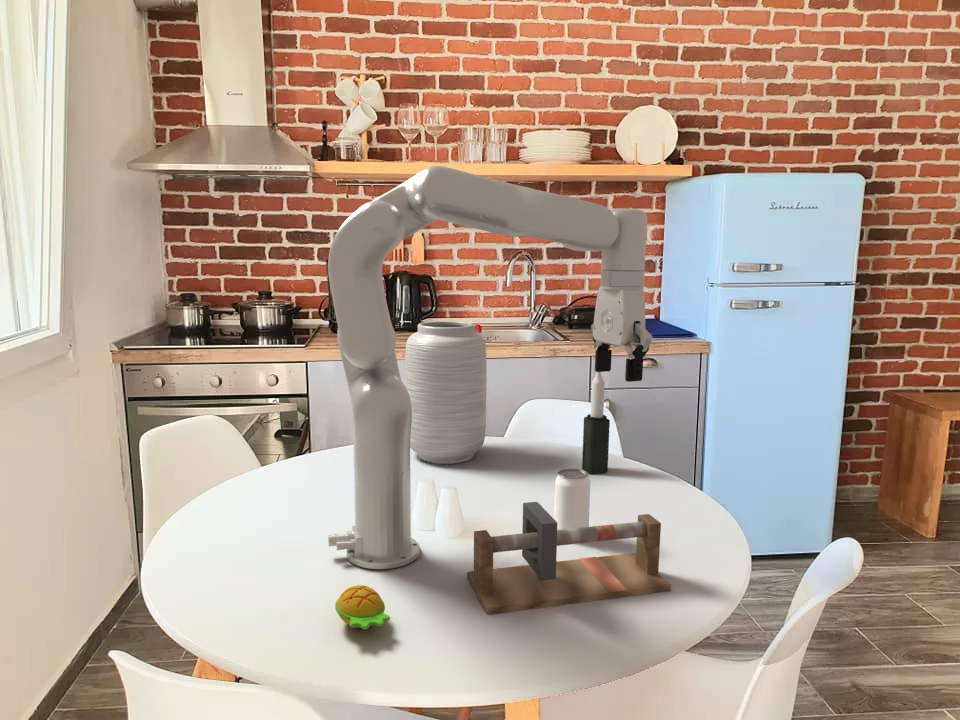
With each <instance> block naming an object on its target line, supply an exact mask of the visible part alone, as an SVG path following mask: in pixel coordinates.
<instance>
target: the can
mask: <svg viewBox="0 0 960 720" xmlns="http://www.w3.org/2000/svg"><path fill="white" fill-rule="evenodd" d="M590 500H591V481H590V478H589V474H588V473H587V472H586V471H585V470H582V469H579V468H564V469H563V468H562V469H560V470H558V472H557V476H556V478H555V482H554V500H553V501H554V502H553V503H554V505H553V506H554V507H553V508H554V509H553V514H554V515H553V519H554V520H555V521H556V522H557V530H562V529H572V528H582V527H590V526H589V525H590V508H591V507H590V505H591V504H590V503H591V502H590Z"/></svg>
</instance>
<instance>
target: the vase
mask: <svg viewBox="0 0 960 720" xmlns="http://www.w3.org/2000/svg"><path fill="white" fill-rule="evenodd" d="M404 370H405V372H404V374H405V379H404V380H405V381H404V386H405V387H406V389H407V391H408V393H409V396H410V399H411V405H412V424H411V437H410V450H412V451H413V452H414V453H415V454H417V457H418V458H419V459H420V460H421V459H422V460H421V461H423V460H424V462H426V461H427V463H430V462H431V463H432V464H440V465H441V464H442V465H449V464H450V465H452V464H459V463H464V462H467V461H469V460H471V459H472V458H473V457H474V455H475V454H476V453H477V452H478V451H480V449H481V448H482V447H483V445H484V441H485V438H486V428H487V427H486V426H487V425H486V423H487V345H486V341H485V339H484V337H483V336H482V335H481V334H480V333H477V332H475V325H474V324H473V323H471V322H467V321H456V320H455V321H454V320H453V321H452V320H451V321H450V320H433V321H424V322H419V323H418V324H417V331H416V332H414V333H412V334H411V335H410V336H409V337H408V338H407V340H406V345H405V363H404Z"/></svg>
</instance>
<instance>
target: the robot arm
mask: <svg viewBox="0 0 960 720" xmlns="http://www.w3.org/2000/svg"><path fill="white" fill-rule="evenodd" d="M436 220H438V221H443V222H446V223H452V224H455V225H459V226H462V227H463V226H464V227H466V228H468V227H469V228H473V229H477V230H479V231H484V232H488V233H492V234H496V235H500V236H507V237H512V238H513V237H514V238H531V239H538V240H545V241H550V242H555V243H559V244H561V245H562V246H563V247H565V248H566V249H568V250H572V251H576V252H591V253H592V252H593V253H595V252H601V264H600V265H601V267H600V268H601V269H600V287H598V291H597V295H596V302H595V309H594V317H593V323H592V324H591V325H590V329H591V332H592V333H591V334H592V341H593V343H594V344H593V349H594V350H595V359H594V371H595V372H596V373H597V372H600V373H601V372H602V373H604V372H611V370H612V353H613V352H612V351H613V350H612V349H610V348H611V347H612V346H614V347H619V348H620V347H621V348H622V347H623V346H624V349H625V351H626V354H627V356H628V358H626V359H625V372H624V373H625V375H624V380H625V382H630V383H631V382H632V383H633V382H641V381H642V380H643V375H644V374H643V371H644V359H645V358H646V357H647V353H648V352H649V351H650V346H651V343H652V340H653V335H652V334H651V333H650V332H649V331H648V329H647V328H646V302H645V301H646V300H645V291H644V289H645V273H646V272H645V270H646V267H645V266H646V251H647V233H648V215H647V213H646V212H645V211H644V210H642V209H637V208H636V209H635V208H633V209H632V208H614V209H609V208H608V207H606V206H604V205H602V204H598V203H595V202H591V201H587V200H584V199H579V198H575V197H572V196H568V195H565V194H564V195H563V194H558V193H554V192H548V191H543V190H538V189H536V188H531V187H527V186H522V185H519V184H518V185H517V184H513V183H510V182H506V181H503V180H502V181H501V180H498V179H494V178H491V177H485V176H482V175H478V174H474V173H471V172H467V171H463V170H460V169H455V168H451V167H446V166H441V165H434V166H428V167H426V168H424V169H423V170H421V171H419V172H418V173H416V174H415V175H413V176H412V177H410V178H409V179H408V180H407V179H406V181H404V182H402V183H400V184H399V185H397V186H396V187H393V188H392V189H390V190H389V191H387V192H385V193H383V194H381V195H380V196H378V197H376V198H374V199H373V200H371V201H368V202H366V203H364V204H362V205H360V206H359V208H357V209H356V210H355V211H353V213H351V215H350V216H348V217H347V218H346V219H345V220H344V222H343V223H342V224H341V225H340V227H338V230H337V231H336V233H335V234H334V237H333V239H332V242H331V245H330V248H329V252H328V262H327V273H328V274H327V275H328V281H329V287H330V291H331V293H330V294H331V297H332V298H331V299H332V302H333V303H332V304H333V309H334V313H335V314H334V315H335V318H336V323H337V334H336V336H337V344H338V348H339V351H340V356H341V360H342V361H341V362H342V366H343V371H344V374H345V378H346V383H347V387H348V392H349V397H350V399H351V406H352V419H353V471H354V474H353V475H354V516H355V517H354V523H355V524H354V525H352V528H351V531H350V530H349V531H346V533H342V534H339V533H337V534H335V533H334V534H328V536H327V539H328V540H327V541H328V543H327V544H328V547H336V551H341V550H342V551H343V550H346V557H347V560H348V561H349V562H350V563H352V564H353V565H355V566H357V567H360V568H364V569H370V570H389V569H396V568H400V567H403V566H405V565H408V564H411V563H412V562H414V561H415V560H416V559H417V558H419V555H420V551H421V548H420V547H421V546H420V543H419V542H418V541H417V540H416V539H414V538H413V537H412V530H411V528H412V524H411V523H412V522H411V521H412V518H411V513H412V512H411V509H412V508H411V504H412V503H411V502H412V501H411V500H412V499H411V448H410V437H411V424H412V405H411V399H410V396H409V393H408V391H407V389H406V387H405V383H403V381H402V379H401V375H400V374H401V373H400V369H399V363H398V359H397V355H396V343H397V341H396V340H397V338H396V332H395V329H394V327H393V324H392V320H391V317H390V311H389V308H388V303H387V298H386V292H385V285H384V280H383V265H384V261H385V259H386V257H387V255H388V254H389V253H391V252H392V251H394V250H395V249H396V248H398V246H399V245H400V244H401V242H402V241H404V240H406V239H407V238H409V237H410V236H413V235H415V234H416V233H417V232H419V231H421V230H423V229H424V228H426V227H428V226H429V225H430V224H432V223H434V222H436Z"/></svg>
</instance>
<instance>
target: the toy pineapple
mask: <svg viewBox="0 0 960 720" xmlns="http://www.w3.org/2000/svg"><path fill="white" fill-rule="evenodd" d="M334 607H335V611H336V612H337V614H338V616H339V618H340V619H341V621H343V622H344V623H345V624H346V625H348V626H349V627H350V628H356V629H359V628H361V629H362V630H368V629H369V628H370V627H371V626H376V627H379V628H380V627H383V626H384V625H385V622H389V621H390V620H391V617H390V615H388V614H387V613H385V610H386V604H385V602H384V600H383V599H382V598H381V595H380V594H379V593H378V591H376V590H375V589H374V588H372V587H370V586H368V585H363V584H358V585H353V586H349V587H347V589H345V590H344V591H343V592H342V593H341V594H340V595H339V597H338V598H337V600H336V601H335V604H334Z"/></svg>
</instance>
